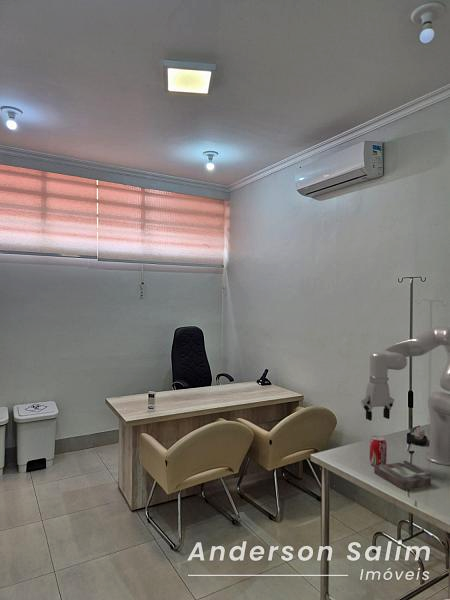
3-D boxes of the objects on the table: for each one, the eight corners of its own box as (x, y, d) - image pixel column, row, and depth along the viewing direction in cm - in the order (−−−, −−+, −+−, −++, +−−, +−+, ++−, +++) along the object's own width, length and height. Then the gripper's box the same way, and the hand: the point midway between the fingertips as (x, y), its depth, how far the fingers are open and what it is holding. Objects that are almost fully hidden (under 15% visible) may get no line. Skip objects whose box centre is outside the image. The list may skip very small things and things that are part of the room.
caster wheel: (419, 451, 201) (403, 442, 210) (435, 444, 206) (418, 435, 215) (419, 439, 200) (403, 430, 209) (435, 433, 204) (418, 424, 213)
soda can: (375, 468, 171) (376, 441, 172) (366, 462, 178) (366, 435, 178) (389, 467, 173) (390, 440, 174) (379, 461, 180) (379, 434, 180)
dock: (400, 469, 171) (400, 457, 171) (430, 485, 156) (431, 473, 156) (374, 473, 166) (374, 461, 167) (403, 490, 151) (403, 477, 152)
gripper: (387, 378, 182) (387, 415, 182) (356, 379, 176) (356, 417, 176) (400, 381, 175) (399, 419, 175) (368, 383, 169) (367, 422, 169)
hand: (377, 418), depth 176 cm, fingers open, 9 cm apart
